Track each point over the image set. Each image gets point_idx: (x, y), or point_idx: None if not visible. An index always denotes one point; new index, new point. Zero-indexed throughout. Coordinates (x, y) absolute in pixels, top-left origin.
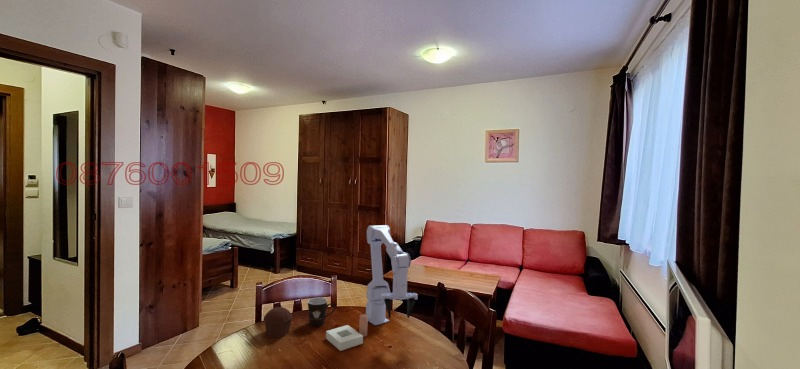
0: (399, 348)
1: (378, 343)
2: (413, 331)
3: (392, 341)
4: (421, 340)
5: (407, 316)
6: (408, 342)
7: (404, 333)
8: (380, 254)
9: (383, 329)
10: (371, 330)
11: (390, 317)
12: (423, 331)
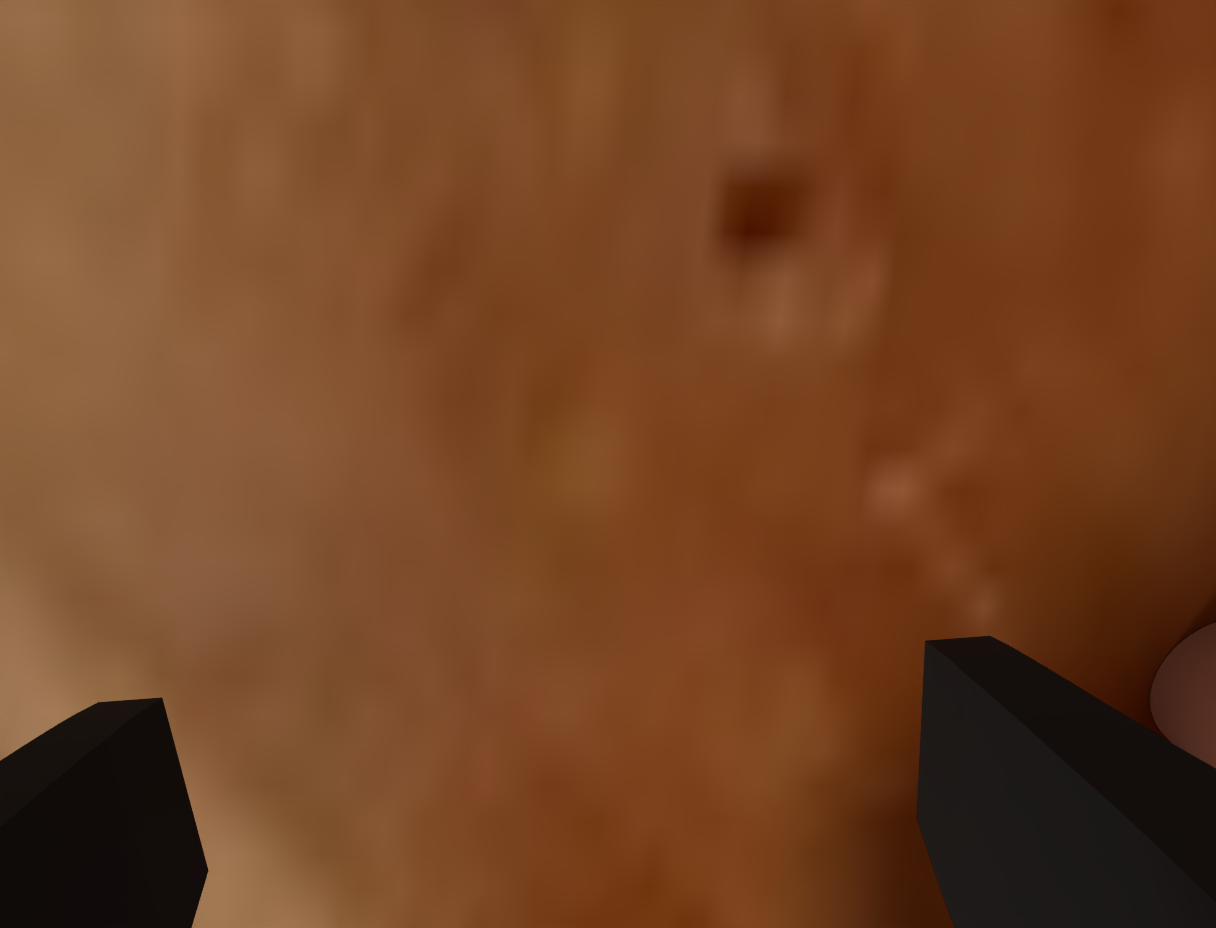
0: (554, 113)
1: (990, 350)
2: (222, 806)
3: (681, 428)
4: (47, 459)
5: (162, 764)
6: (336, 379)
7: (407, 735)
8: None
9: (804, 874)
10: None
11: (945, 653)
12: None
